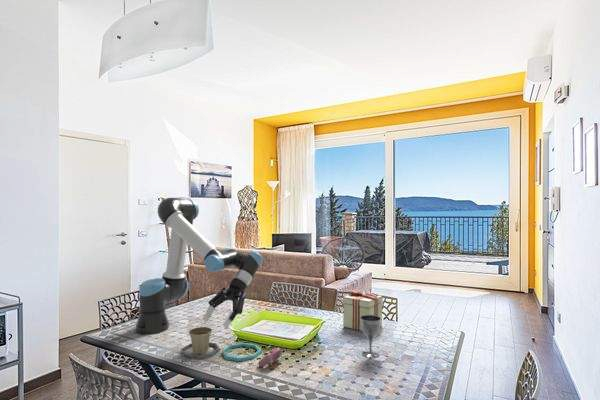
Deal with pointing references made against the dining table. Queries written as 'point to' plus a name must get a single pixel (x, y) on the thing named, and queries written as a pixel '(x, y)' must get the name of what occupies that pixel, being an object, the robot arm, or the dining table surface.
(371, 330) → the wine glass
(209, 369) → the dining table surface
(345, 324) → the gift box
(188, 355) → the collar
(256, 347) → the collar
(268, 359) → the pink toy animal
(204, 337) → the flower pot
